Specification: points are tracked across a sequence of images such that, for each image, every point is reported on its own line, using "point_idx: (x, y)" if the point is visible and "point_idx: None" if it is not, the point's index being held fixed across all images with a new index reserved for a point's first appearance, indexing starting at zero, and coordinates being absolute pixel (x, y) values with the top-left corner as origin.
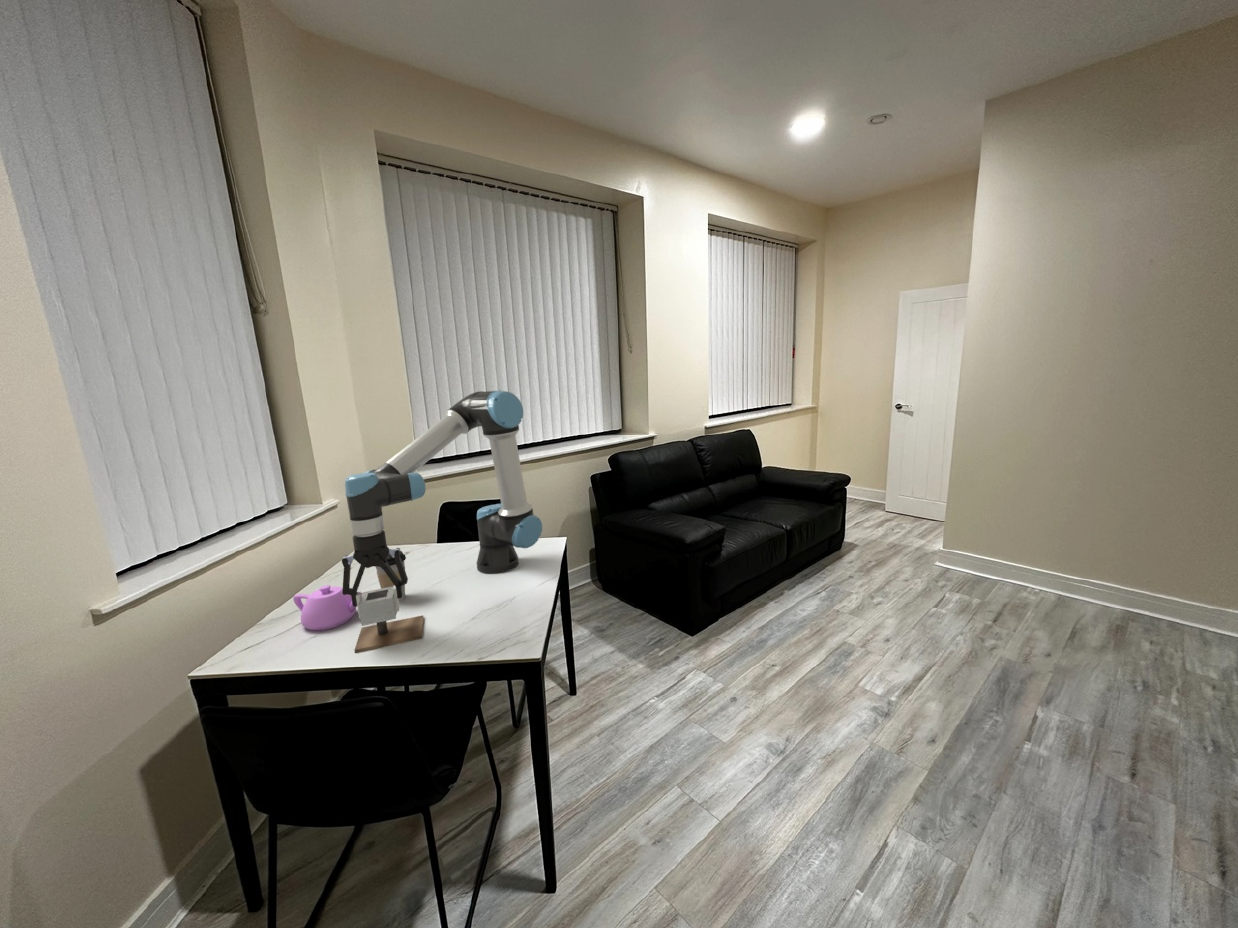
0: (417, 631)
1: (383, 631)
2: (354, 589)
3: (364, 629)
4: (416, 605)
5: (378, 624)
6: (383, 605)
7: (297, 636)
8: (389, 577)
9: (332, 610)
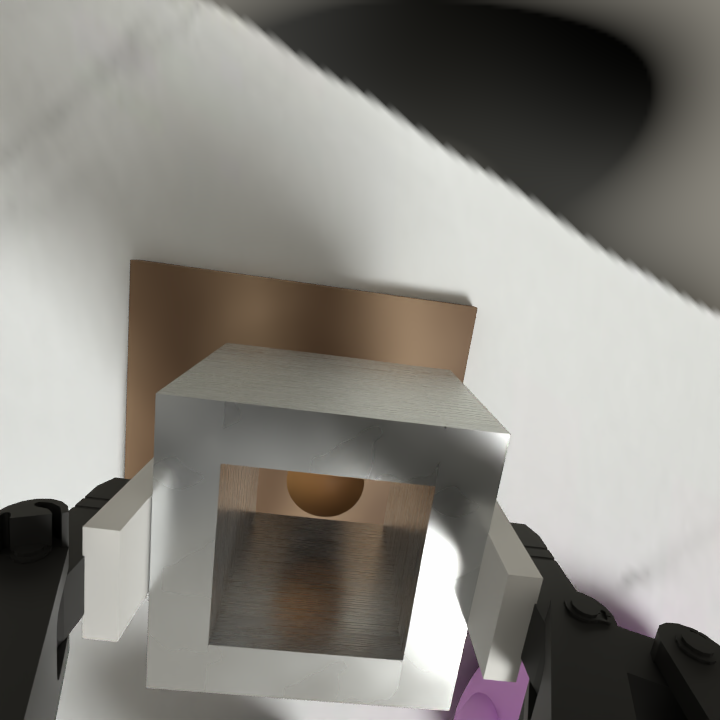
0: (155, 324)
1: None
2: (589, 657)
3: None
4: None
5: None
6: (274, 384)
7: (696, 621)
8: (19, 704)
9: None
